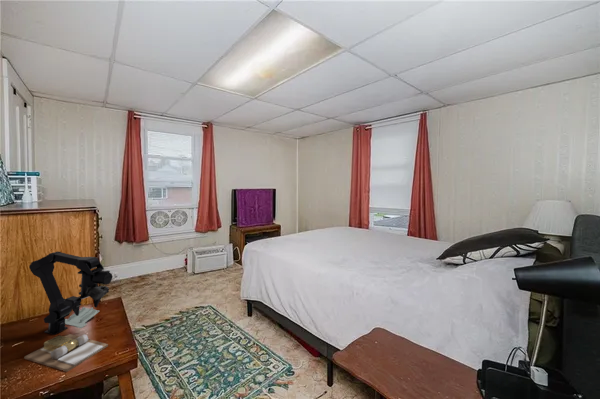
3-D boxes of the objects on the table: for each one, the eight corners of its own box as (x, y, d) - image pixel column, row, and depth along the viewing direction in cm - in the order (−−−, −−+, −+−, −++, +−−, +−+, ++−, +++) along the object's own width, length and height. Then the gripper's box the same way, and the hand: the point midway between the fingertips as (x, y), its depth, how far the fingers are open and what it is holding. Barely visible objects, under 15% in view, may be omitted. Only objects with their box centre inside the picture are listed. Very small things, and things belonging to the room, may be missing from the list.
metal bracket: (81, 303, 149) (103, 307, 146) (84, 311, 150) (105, 315, 148) (55, 321, 135) (78, 327, 133) (58, 330, 137) (81, 335, 135)
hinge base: (24, 358, 110) (24, 347, 110) (69, 335, 128) (70, 326, 127) (67, 371, 105) (67, 360, 105) (107, 346, 123) (108, 336, 123)
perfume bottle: (43, 348, 115) (44, 340, 115) (58, 341, 121) (59, 333, 121) (66, 355, 113) (66, 346, 113) (80, 347, 119) (80, 339, 119)
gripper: (82, 292, 118) (80, 323, 119) (117, 278, 137) (116, 306, 137) (63, 287, 121) (61, 319, 121) (101, 275, 139) (99, 302, 140)
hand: (86, 311), depth 130 cm, fingers open, 9 cm apart
